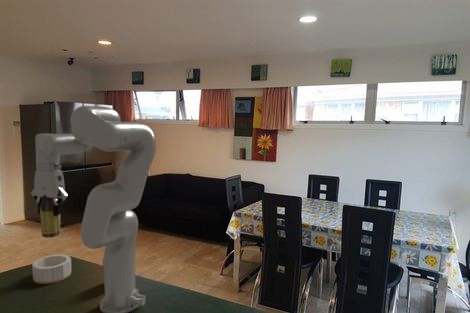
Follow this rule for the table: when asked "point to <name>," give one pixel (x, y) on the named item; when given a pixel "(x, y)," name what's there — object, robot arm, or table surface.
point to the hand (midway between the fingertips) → (49, 213)
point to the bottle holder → (51, 269)
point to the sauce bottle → (49, 218)
